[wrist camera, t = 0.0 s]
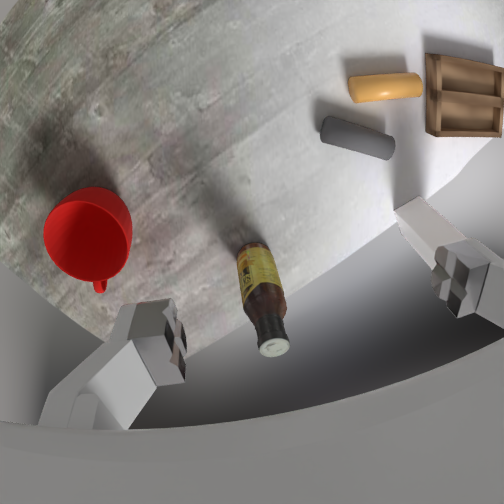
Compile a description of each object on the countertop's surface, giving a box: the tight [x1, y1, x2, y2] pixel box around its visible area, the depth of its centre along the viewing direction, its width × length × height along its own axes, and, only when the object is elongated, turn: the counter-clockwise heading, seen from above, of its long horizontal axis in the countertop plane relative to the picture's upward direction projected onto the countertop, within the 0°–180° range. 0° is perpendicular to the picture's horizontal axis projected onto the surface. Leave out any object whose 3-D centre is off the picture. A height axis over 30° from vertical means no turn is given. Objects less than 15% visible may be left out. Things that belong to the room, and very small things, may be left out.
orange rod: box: [348, 73, 423, 103], centre depth 40 cm, size 11×4×4 cm, turn 102°
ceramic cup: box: [43, 187, 132, 293], centre depth 44 cm, size 13×17×10 cm
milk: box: [394, 196, 468, 270], centre depth 46 cm, size 6×6×22 cm
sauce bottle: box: [237, 243, 290, 357], centre depth 48 cm, size 7×6×20 cm
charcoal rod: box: [320, 116, 395, 160], centre depth 44 cm, size 11×4×4 cm, turn 77°
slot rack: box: [425, 53, 504, 138], centre depth 41 cm, size 14×18×3 cm
